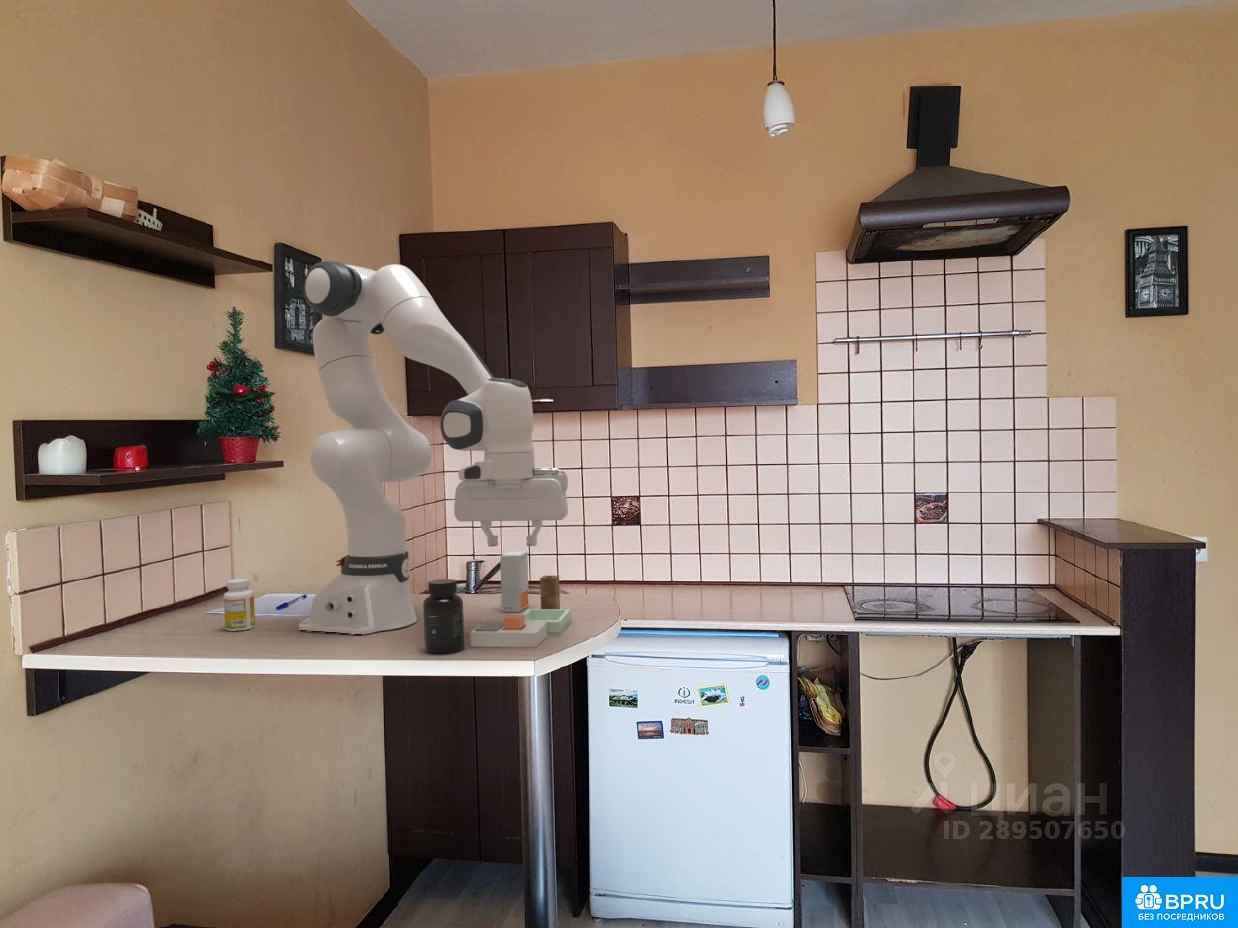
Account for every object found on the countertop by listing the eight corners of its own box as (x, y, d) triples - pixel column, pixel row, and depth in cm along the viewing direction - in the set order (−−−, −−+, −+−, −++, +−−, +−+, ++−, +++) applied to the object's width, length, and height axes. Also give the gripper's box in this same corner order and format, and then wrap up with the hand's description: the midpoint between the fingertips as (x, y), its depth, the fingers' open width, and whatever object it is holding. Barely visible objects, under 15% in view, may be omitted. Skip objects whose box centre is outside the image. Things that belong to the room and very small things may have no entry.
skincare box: (520, 612, 171) (518, 555, 171) (501, 612, 172) (499, 555, 172) (529, 606, 177) (527, 551, 177) (510, 605, 178) (509, 550, 178)
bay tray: (514, 635, 152) (513, 621, 152) (528, 621, 163) (528, 609, 163) (559, 635, 151) (559, 622, 151) (571, 621, 162) (570, 609, 162)
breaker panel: (470, 646, 145) (469, 630, 145) (484, 635, 153) (483, 620, 153) (536, 647, 143) (536, 631, 143) (547, 635, 151) (546, 620, 151)
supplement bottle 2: (416, 651, 142) (413, 583, 142) (443, 642, 148) (441, 576, 148) (445, 656, 139) (443, 586, 138) (472, 646, 145) (470, 579, 144)
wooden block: (541, 617, 166) (540, 577, 166) (544, 614, 169) (543, 574, 169) (556, 617, 166) (555, 577, 165) (560, 614, 169) (558, 574, 169)
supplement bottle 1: (244, 624, 167) (242, 576, 166) (261, 627, 164) (258, 578, 164) (219, 630, 162) (217, 581, 162) (236, 633, 159) (234, 583, 159)
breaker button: (504, 630, 147) (503, 618, 147) (508, 626, 150) (508, 614, 150) (520, 630, 146) (520, 618, 146) (524, 626, 149) (524, 614, 149)
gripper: (570, 466, 148) (572, 542, 149) (461, 469, 151) (463, 543, 152) (563, 468, 142) (565, 548, 143) (449, 470, 145) (452, 548, 146)
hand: (512, 545), depth 147 cm, fingers open, 6 cm apart
